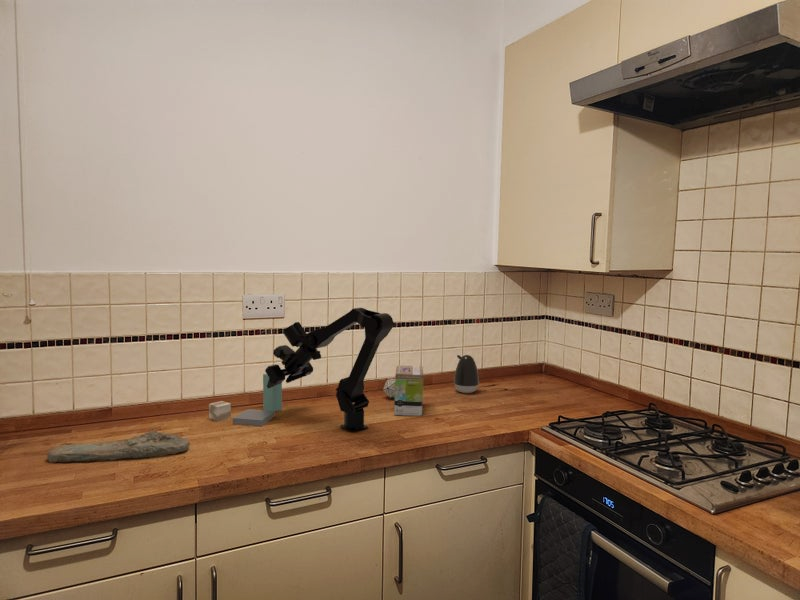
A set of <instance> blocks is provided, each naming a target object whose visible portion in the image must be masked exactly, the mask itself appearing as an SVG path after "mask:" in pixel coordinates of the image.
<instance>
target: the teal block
mask: <svg viewBox="0 0 800 600" xmlns="http://www.w3.org/2000/svg"><path fill="white" fill-rule="evenodd" d="M268 380H269V376H268V375H267V373H266V372H265V373H263V374H262V391H263V392H262V395H263V396H262V401H263V402H262V403H263V405H262V409H263V410H265V411H277V412H279V411H282V410H283V390H282V389H283V384H282V383H283V382H282V383H281V384H278V385H276V386H274V387H271V388H269V389H268V388H267V384H268ZM281 409H282V410H281ZM278 410H279V411H278Z"/></svg>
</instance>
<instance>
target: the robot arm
mask: <svg viewBox="0 0 800 600" xmlns="http://www.w3.org/2000/svg"><path fill="white" fill-rule="evenodd" d="M356 324H358V325H359V326H361V327H362V328H364V337H365V338H364V340H363V343H362V345H361V347H360V349H359V352H358V355H357V356H356V359H355V361H354V364H353V366H352V369H351V371H350V372H349V373H350V374H349V375H348V376H347V377H345V378H341V379H340V380H339V382H338V385H337V388H335V391H336V394H335V397H336V399H337V403H338V407H339V410H340V411H341V412H343V414H344V419H343V420H344V424H341V425H340V428H342V429H344V430H346V431H347V432H351V433H355V432H357V431H363V430H366V429H369V426H367V425H365V410H364V409H365V408H368V406H369V403H370V400H369V399H368V397H367V396H366V395H365V394H364V391H365V384H364V381H365V378H366V375H367V374H368V371H369V369H370V367H371V365H372V362H373V359H374V357H375V355H376V353H377V351H378V348H379V346H380V344H381V342H382V341H384V339H386V337H387V336H388V335H389V333H390V332H391V331H392V329H393V327H394V324H395V323H394V318H393V317H392V316H391V314H390V313H385V312H382V313H381V312H377V311H373V310H368V309H366V308H363V307H357V308H356V307H355V308H352V309H351V310H350V311H348V312H347V313H345V314H344V315H342V316H341V317H339V318H338V319H335V320H334V321H333V322H331V323H329V324H328V325H326V326H324V327H320V328H317V329H314V330H312V331H309V332H307V331H305V329H304V328H303V326H302V324H301V323H300V321H295V322H293V323H292V324H291V325H289V326H288V327H286V328H284V329H283V331H282V334H283V335H284V336H285V338H286V339H287V341H288V342H289V344H290V345H291V347H290V346H288V345H286V344H284V345H279V346H277V347H275V349H273V351H272V352H273V353H272V354H273V356H274V357H275V358H276V359H280V360H281V364H282V366H284V367H283V369H282V368H281V366H280V365H279V364H277V363H275V364H272V365H268V366H267V367H266V368H265V370H264V372H265V374H266V373H267V375H268V376H269V380H268V384H267V388H268V389H269V388H271V387H274V386H276V385H278V384H281V383H283V382H284V381H285V382H286V384H289V383H292V382H293V381H296V380H299V379H301V378H304V377H307V376H309V375H311V374H312V373H313V372H314V367H313V365H312V364H311V361H312V360H313V361H316V360H320V359H322V354H321V351H320V350H318V349H320V348H323V347H324V348H325V347H328V346H329V345H330V344H331V343H332V342H333V341H334V339H335V338H336V337H337V336H338V335H340V334H341V333H343V332H344V331H346V330H348V329H349V328H352V327H353V326H354V325H356ZM292 347H296V348H297V349H296V351H295V350H294V349H292Z"/></svg>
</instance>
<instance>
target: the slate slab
mask: <svg viewBox="0 0 800 600" xmlns="http://www.w3.org/2000/svg"><path fill="white" fill-rule="evenodd" d="M275 413H276V412H275V411H265V410H262V409H249V408H247V409H245V410H243V411H242V412H240V413H238V414H237V415H235V416H234V417H232V425H237V424H241V426H250V425H252V427H263V426H264V424H265V425H266V424H267V423H269V422H270V421H271V420H273V419H274V418H275V417H276V416H275V415H276V414H275ZM273 417H274V418H273ZM272 418H273V419H272ZM269 420H270V421H269ZM268 421H269V422H268Z"/></svg>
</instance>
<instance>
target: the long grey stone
mask: <svg viewBox="0 0 800 600" xmlns="http://www.w3.org/2000/svg"><path fill="white" fill-rule="evenodd" d="M190 446H191V443H190V441H189V439H187V438H185V437H182V436H178V435H176V434H174V433H164V432H158V431H157V430H156V429H154V430H151V431H150V430H149V431H148V432H144V433H143V434H141V435H140V436H133V437H130V438H129V439H124V440H120V441H118V440H117V441H116V440H112V441H103V442H102V441H101V442H90V443H89V442H88V443H77V444H72V443H71V444H68V443H67V444H62V445H59V446H55V447H54V448H52V449H49V451H48V454H47V455H46V457H47V461H48V462H49V463H54V462H55V463H61V462H64V463H65V462H66V463H69V462H78V463H79V462H84V463H87V462H95V461H96V462H101V461H102V462H104V461H117V459H118V460H123V459H143V458H144V459H145V458H148V457H149V458H152V457H154V458H155V457H166V456H167V455H173V454H175V455H176V454H177V453H182V452H187V450H188V449H189V447H190Z"/></svg>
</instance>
